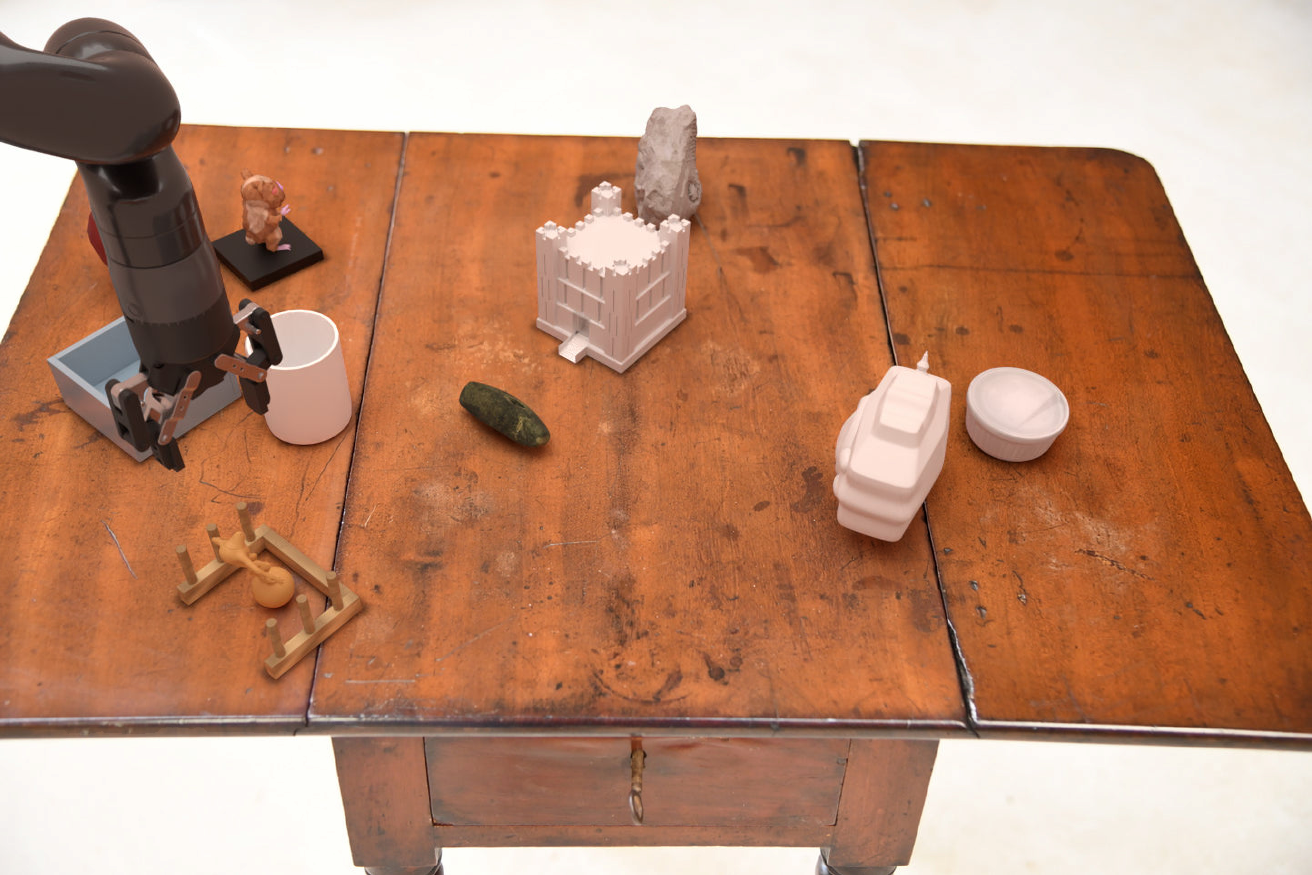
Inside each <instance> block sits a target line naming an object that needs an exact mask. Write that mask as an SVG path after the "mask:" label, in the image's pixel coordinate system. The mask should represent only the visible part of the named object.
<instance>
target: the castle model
mask: <svg viewBox="0 0 1312 875" xmlns="http://www.w3.org/2000/svg"><path fill="white" fill-rule="evenodd" d="M590 192H591V194H590V200H591V201H590V202H591V203H590V204H591V205H590V206H591V207H590V213H591V214H590V213H588V214H587V215H585V216H584V218H583V219H584V220H583V221H582V220H578V221H577V222H575V223H574V228H573V227H570V226H569V228H568V229H567V228H566V227H564V226H562V225H559V226H557V222H554V221H552V220H548V221H547V222H545V223H544V225H543V226H540V227H538V228H537V229H536V230H535V235H534V236H535V253H536V254H535V258H536V285H537V289H536V290H537V310H538V311H537V312H538V315H537V316H538V317H537V318H536V319H535V320H536V321H535V322H536V323H535V324H536V328H537V329H539V330H541V331H543V332H545V333H546V334H548V335H550V336H552V337H554V338H555V339H557V340H559V341H561V342H562V343H560V344H559V345H558V346H557V348H558V355H559V356H561V357H563V358H565V359H566V360H568V361H569V362H571V363H573V364H575V365H576V364H577V363H579V362H580V361H581V360H582V359H584V358H585V357H586V356H588V357H589V358H592V359H594V360H595V361H597V362H599V363H600V364H602V365H604V366H607V367H608V368H610V369H612V370H614V371H615V372H617V373H619V374H623V373H624V372H625V371H627V369H628V368H629V367H630V366H632V365H633V364H634V363H635V362H637V361H638V360H639V359H640V358H642V356H644V355H645V354H646V353H647V352H648V351H649V350H650V349H651V348H653V347H654V346H655V345H656V344H657V343H659V342H660V341H661V340H662V339H663V338H664V337H665V336H666V335H668V334H669V333H670V332H671V331H672V330H673V329H674V328H676V327H677V326H679V324H680V323H682V322H683V321H684V320H685V319H686V318H687V308H686V307H685V306H686V293H687V292H686V291H687V277H688V267H689V266H688V264H689V252H690V238H691V224H692V222H691V221H690V220H689V221H687V220H685V219H683V220H681V222H680V217H679V216H677V215H675V214H672V215H671V216H669V217H668V221H667V220H664V221H663V222H662V223H660V230H656V226H655V225H653V224H651V223H649V224H648V225H647V226H646V225H644V220H643V219H641V218H639V217H638V216H637V218H635V219H634V214H633V213H631V212H628V211H626V212H625V213H623V212H622V211H623V210H622V188H620V187H618V186H616V185H614V186H612V183H610V182H607V181H605V180H603V181H602V182H601V183H600V184H599V186H595V187H594V188H593V189H592V190H591V191H590Z"/></svg>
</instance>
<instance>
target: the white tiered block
mask: <svg viewBox="0 0 1312 875" xmlns="http://www.w3.org/2000/svg"><path fill="white" fill-rule="evenodd" d="M928 353H929V351H928V350H926V351H925V352H924V354H923V355H922V357H921V359H920V360H919V361H918V362H917V363H916V369H914V368H910V367H906V366H901V365H892V366H891V367H890V368H888V370H887V372H886V373H885V374H884V376H883V378H882V379H881V381H880V382H879V384H878V385H877V387H876V388H875V390H873V391H871V392H870V393H869V394H867V395H864V396H862V397H861V398H860V399H859V401H858V404H857V407H856V410H855V411H853V413H852V414H851V415H849V417H848V418H847V419H846V420H845V422H844V423H843V425H842V426H841V429H840V431H839V434H838V436H837V442H836V445H835V451H834V452H835V453H834V457H835V464H834V471H835V477H834V479H833V482H832V490H833V495H834V496H835V497H836V498H837V500H838V507H837V513H836V519H837V522H838V523H839V525H841V526H843V527H844V528H846V529H849V530H852V531H854V532H857V533H860V534H863V535H865V536H869V537H872V538H875V539H879V540H883V541H886V542H891V543H894V542H898V541H900V539H902V537H903V536H904V534H905V532H906V530H907V529H908V527H909V526H910V525H911V523H912V521H913V519H914V517H915V516H916V514H917V513H918V511H919V509H920V508H921V507H922V505H923V503H924V501H925V500H926V498H927V496H928V495H929V493H930V491H931V489H932V488H933V486H934V485H935V483H936V481H937V479H938V478H939V476H940V474H941V472H942V470H943V466H944V463H945V458H946V451H947V444H948V437H949V432H950V431H949V430H950V416H951V415H950V413H951V403H952V384H951V382H950V381H949V380H947V379H945V378H942V377H941V376H937V375H934V374H931V373H928V372H927V371H928V370H929V368H930V365H929V360H928V357H929V354H928Z"/></svg>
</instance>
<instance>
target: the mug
mask: <svg viewBox="0 0 1312 875" xmlns="http://www.w3.org/2000/svg"><path fill="white" fill-rule="evenodd" d="M270 317H271V320H272V323H273V326H274V329H275V332H276V336H277V339H278V342H279V345H280V348H281V351H282V354H283V359H282V361H281V363H280V364H278V365H276V366H274V365H272V366H271V367H270V368H269V369H268V370H267V377H266V382H267V386H268V390H269V394H270V403H269V404H268V405H267V406H268V410H269V411H268V412H267V413H265V414H264V415H263V416H264V419H265V422H266V424H267V427H268V429H269V431H270V432H271V433H272V434H273V435H274V437H276V438H278V439H279V440H282V441H283V442H286V443H289V444H293V445H302V446H303V445H314V444H319V443H323V442H326V441H328V440H330V439H331V438H333V437H336V436H337V435H338V434H339V433H341V432H342V431H344V429H345V428H346V427H347V426H348V424H349V423H350V420H351V417H352V415H353V405H352V404H353V403H352V396H351V390H350V386H349V385H350V384H349V381H348V380H349V379H348V376H347V375H348V374H347V370H346V365H345V358H344V354H343V348H342V343H341V339H340V334H339V330H338V328H337V325H336V323H335V322H334V321H333V320H332V319H331V317H328V316H326V315H324V314H322V313H320V312H317V311H314V310H309V309H291V310H289V309H288V310H284V311H281V312H276V313H274V314H272V315H270ZM244 352H245V357H247V358H248V357H249V356H250V355H251V353H252V352H253V349H252V346H251V344H250V341H249V338H248V335H247V336H246V337H245V341H244Z"/></svg>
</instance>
